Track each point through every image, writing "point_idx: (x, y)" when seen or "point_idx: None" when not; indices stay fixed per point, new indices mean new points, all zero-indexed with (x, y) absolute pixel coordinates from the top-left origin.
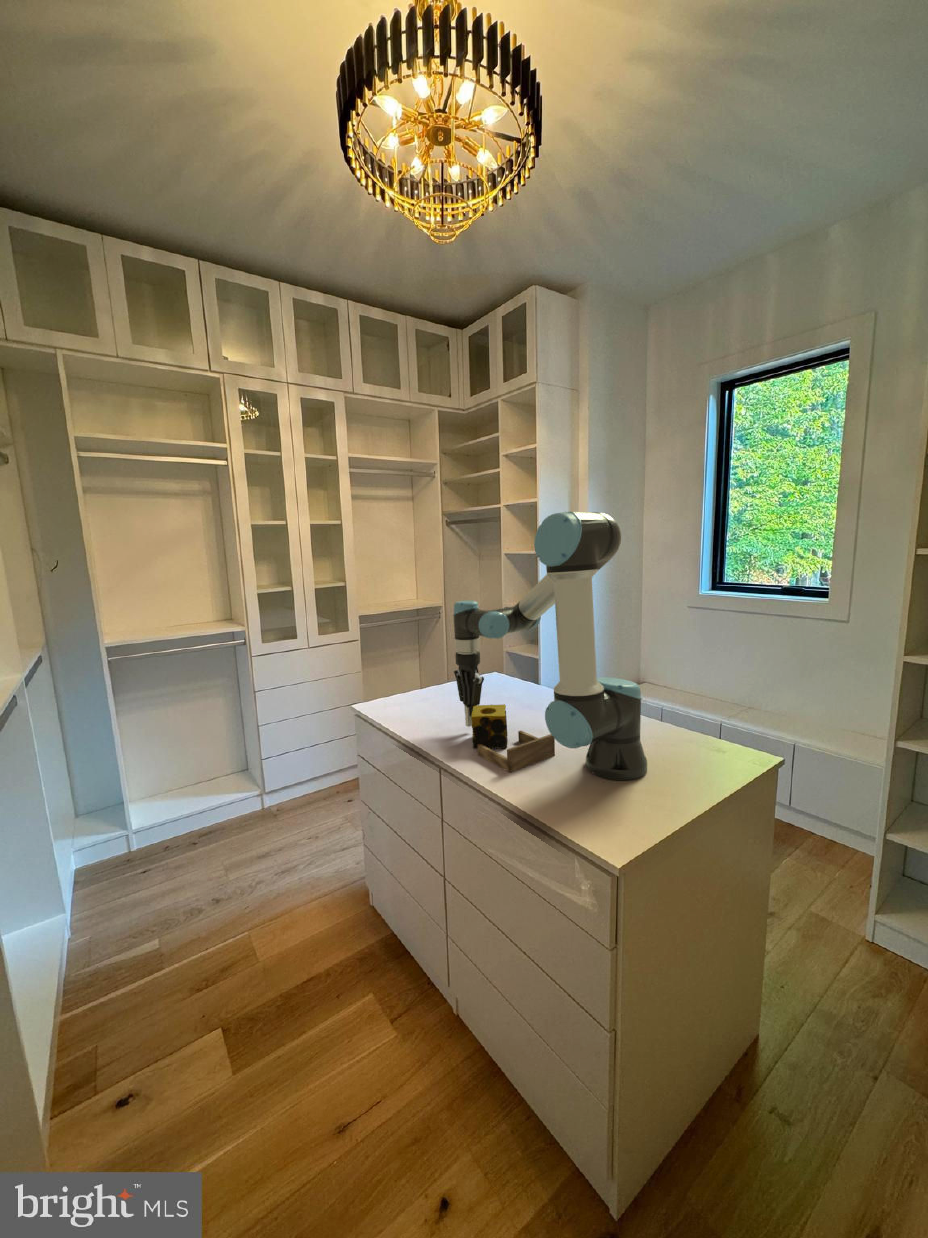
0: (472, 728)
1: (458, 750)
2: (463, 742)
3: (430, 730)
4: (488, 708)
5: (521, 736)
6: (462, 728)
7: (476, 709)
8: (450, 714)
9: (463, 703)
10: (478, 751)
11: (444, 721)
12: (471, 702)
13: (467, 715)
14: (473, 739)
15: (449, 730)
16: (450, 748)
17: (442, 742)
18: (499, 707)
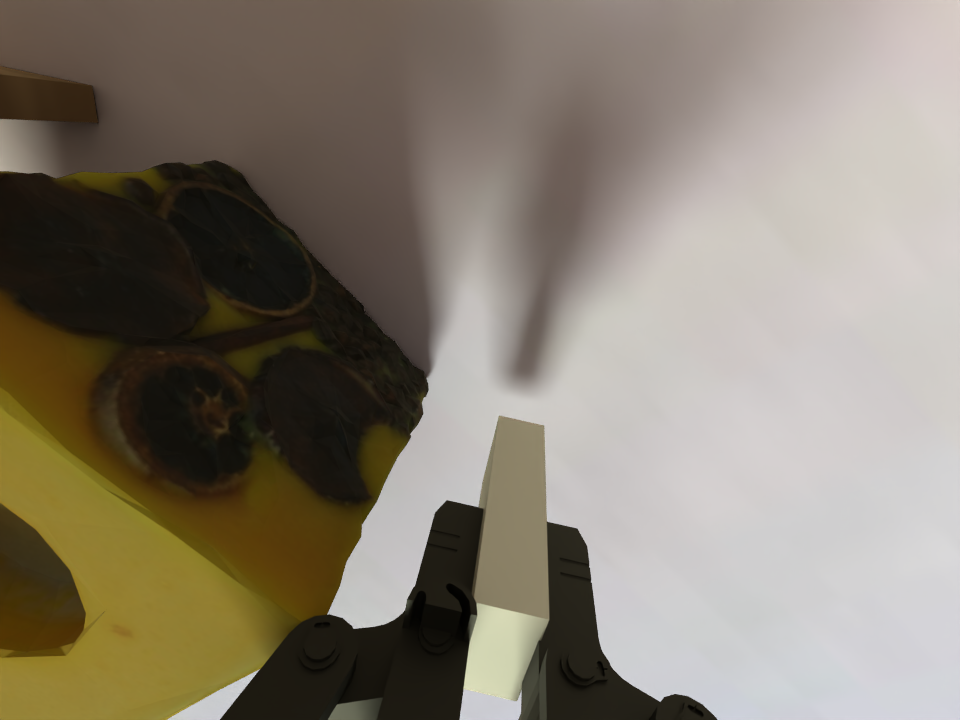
0: (29, 176)
1: (293, 31)
2: (408, 220)
3: (924, 235)
4: (76, 639)
5: None
6: (637, 441)
7: (96, 530)
8: (930, 596)
9: (589, 656)
10: (42, 77)
11: (899, 473)
12: (326, 689)
13: (497, 498)
14: (150, 168)
15: (718, 350)
16: (391, 6)
17: (579, 70)
18: (2, 703)
